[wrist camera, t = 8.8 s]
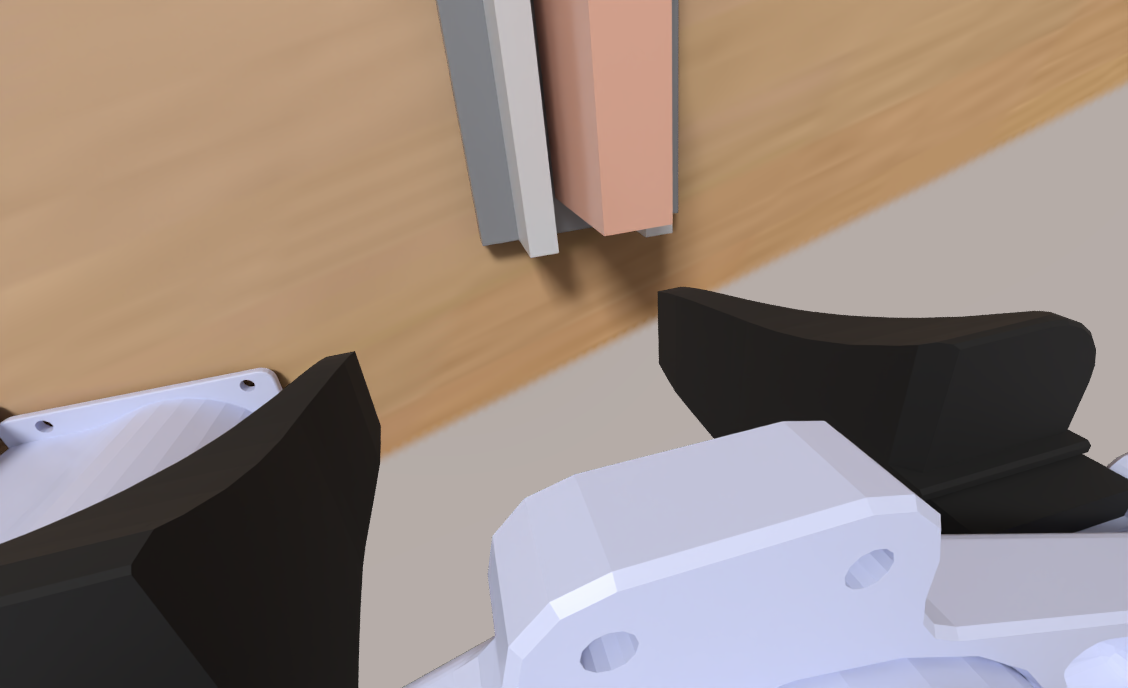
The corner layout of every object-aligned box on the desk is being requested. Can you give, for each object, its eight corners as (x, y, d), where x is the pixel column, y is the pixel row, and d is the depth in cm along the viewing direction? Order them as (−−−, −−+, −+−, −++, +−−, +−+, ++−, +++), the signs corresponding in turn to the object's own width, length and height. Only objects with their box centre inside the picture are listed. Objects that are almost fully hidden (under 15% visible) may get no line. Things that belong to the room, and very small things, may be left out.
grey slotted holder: (480, 239, 20) (490, 265, 17) (411, -125, 15) (407, -184, 12) (667, 207, 21) (708, 226, 18) (664, -137, 16) (720, -193, 13)
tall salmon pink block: (555, 197, 19) (604, 236, 13) (525, -71, 15) (577, -161, 10) (605, 190, 19) (673, 224, 14) (588, -75, 15) (671, -165, 10)
